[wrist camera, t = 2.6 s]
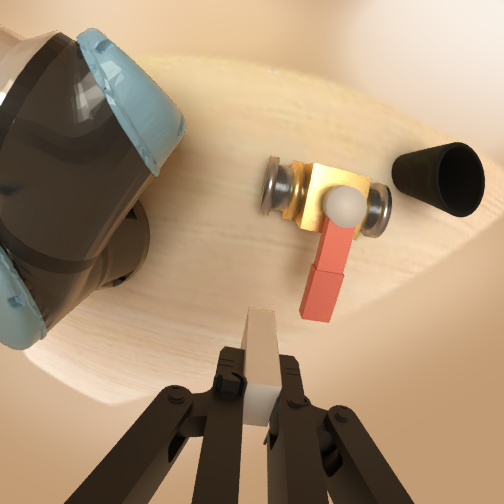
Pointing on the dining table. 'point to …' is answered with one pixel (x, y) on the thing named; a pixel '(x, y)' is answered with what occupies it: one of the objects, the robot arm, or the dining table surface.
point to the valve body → (320, 195)
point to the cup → (442, 177)
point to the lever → (332, 251)
